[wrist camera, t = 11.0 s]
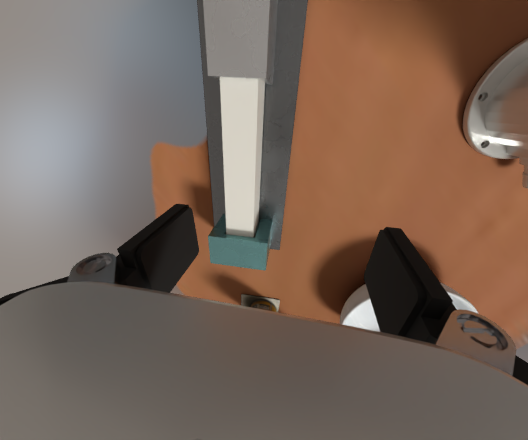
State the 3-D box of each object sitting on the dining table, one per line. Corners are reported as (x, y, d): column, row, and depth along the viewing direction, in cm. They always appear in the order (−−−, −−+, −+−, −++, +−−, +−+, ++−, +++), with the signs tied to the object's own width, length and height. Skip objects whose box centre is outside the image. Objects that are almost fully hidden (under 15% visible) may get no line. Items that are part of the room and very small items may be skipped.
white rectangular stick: (232, 59, 24) (218, 48, 20) (266, 60, 24) (259, 50, 20) (235, 230, 36) (227, 248, 32) (257, 233, 36) (252, 251, 31)
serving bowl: (460, 322, 41) (488, 359, 35) (353, 340, 48) (361, 374, 42) (441, 242, 33) (473, 272, 27) (318, 278, 40) (321, 308, 34)
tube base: (192, -93, 20) (142, -188, 13) (318, -97, 19) (330, -202, 12) (216, 239, 39) (200, 266, 33) (279, 247, 38) (276, 276, 32)
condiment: (276, 320, 48) (270, 379, 38) (241, 314, 49) (225, 370, 38) (280, 299, 45) (275, 358, 34) (241, 292, 45) (225, 348, 35)
